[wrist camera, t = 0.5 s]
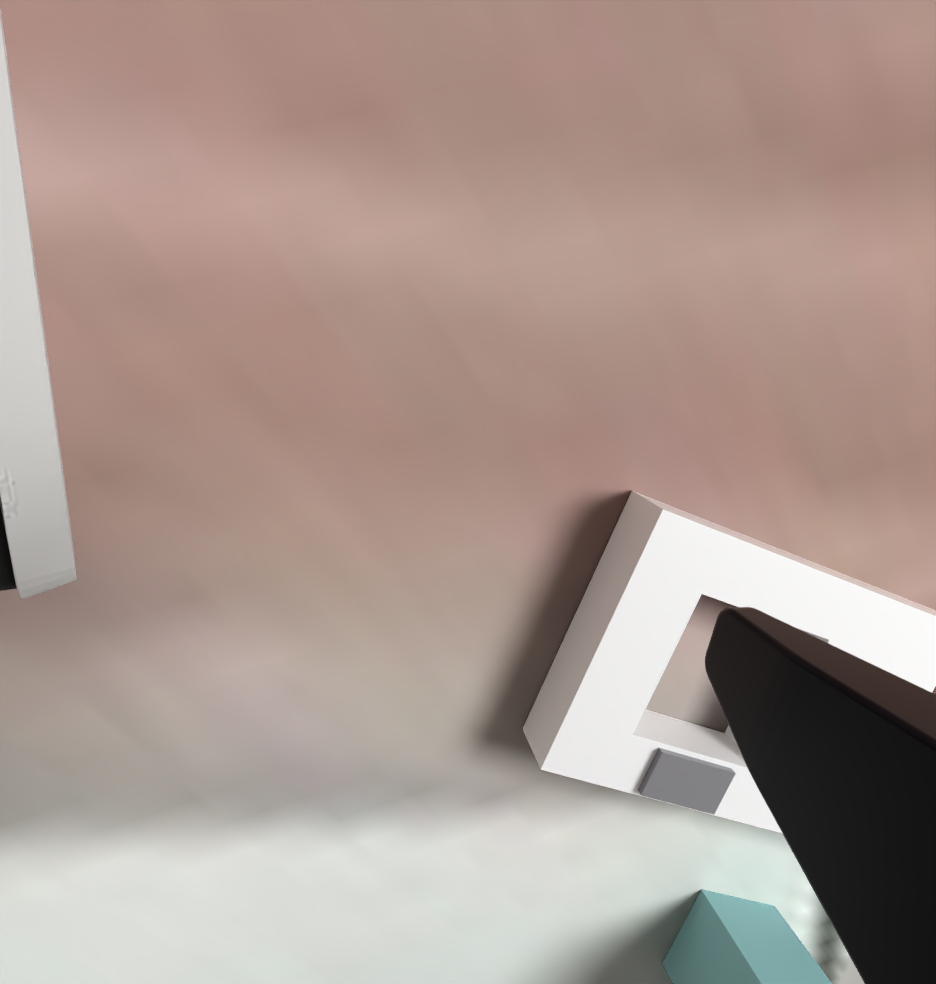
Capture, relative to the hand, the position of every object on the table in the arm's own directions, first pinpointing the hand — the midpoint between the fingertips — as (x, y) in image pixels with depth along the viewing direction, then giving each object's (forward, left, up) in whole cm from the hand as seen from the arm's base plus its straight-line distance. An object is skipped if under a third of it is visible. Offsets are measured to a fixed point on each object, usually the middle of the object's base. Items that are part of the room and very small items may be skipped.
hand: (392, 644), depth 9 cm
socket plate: (-3, -21, -15) cm, 26 cm away
